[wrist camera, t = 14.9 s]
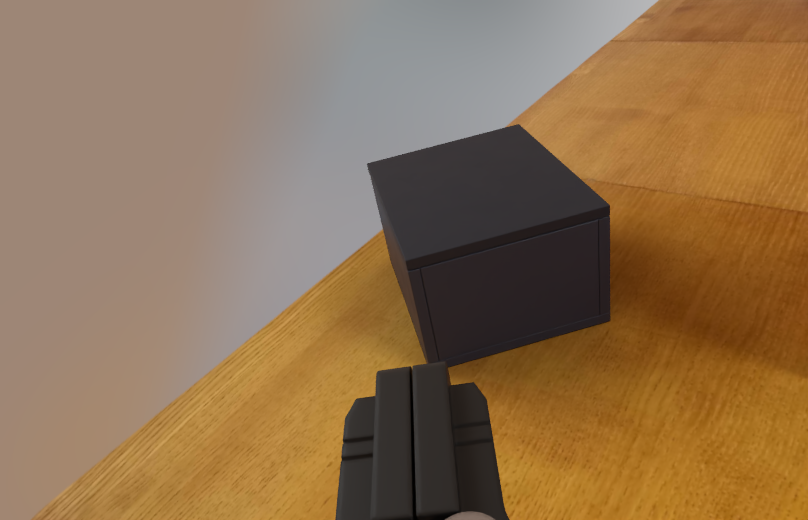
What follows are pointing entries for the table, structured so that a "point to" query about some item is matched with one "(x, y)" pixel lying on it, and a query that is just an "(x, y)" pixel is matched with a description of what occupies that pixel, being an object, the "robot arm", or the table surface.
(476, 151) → the case lid
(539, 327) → the case
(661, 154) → the table surface
